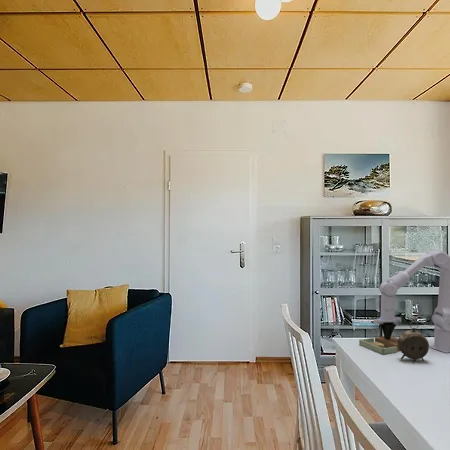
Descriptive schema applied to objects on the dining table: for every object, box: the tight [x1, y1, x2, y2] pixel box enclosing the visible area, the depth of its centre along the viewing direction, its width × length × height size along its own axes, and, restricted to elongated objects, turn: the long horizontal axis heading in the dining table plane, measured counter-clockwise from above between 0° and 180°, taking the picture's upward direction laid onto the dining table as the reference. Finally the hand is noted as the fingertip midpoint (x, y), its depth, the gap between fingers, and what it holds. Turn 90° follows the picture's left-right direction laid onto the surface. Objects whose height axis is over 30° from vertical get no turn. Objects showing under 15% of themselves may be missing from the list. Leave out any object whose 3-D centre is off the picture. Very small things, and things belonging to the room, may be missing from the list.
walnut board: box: [374, 335, 401, 353], centre depth 170 cm, size 9×12×3 cm
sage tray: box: [358, 337, 398, 356], centre depth 167 cm, size 8×14×2 cm, turn 22°
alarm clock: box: [398, 320, 430, 364], centre depth 152 cm, size 11×5×16 cm, turn 84°
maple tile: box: [370, 341, 384, 348], centre depth 166 cm, size 4×4×2 cm
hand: (387, 339), depth 169 cm, fingers closed
